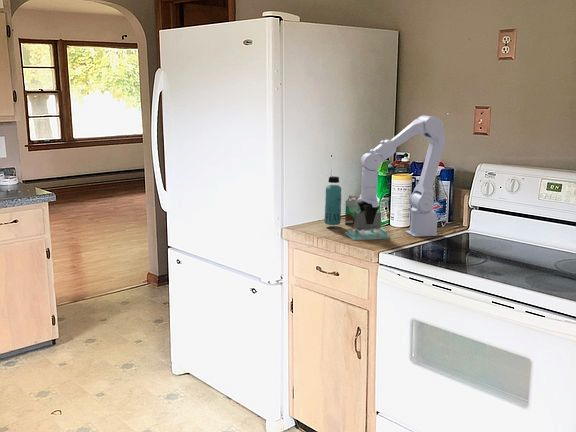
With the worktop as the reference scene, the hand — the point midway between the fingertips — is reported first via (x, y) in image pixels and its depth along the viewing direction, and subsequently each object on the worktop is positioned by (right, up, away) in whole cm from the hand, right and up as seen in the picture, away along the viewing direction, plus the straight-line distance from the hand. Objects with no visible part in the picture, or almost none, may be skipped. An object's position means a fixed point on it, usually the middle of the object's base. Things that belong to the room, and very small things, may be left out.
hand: (367, 222), depth 226 cm
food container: (-3, 0, +23) cm, 23 cm away
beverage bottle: (-12, -2, +14) cm, 19 cm away
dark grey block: (0, -2, 0) cm, 2 cm away
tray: (0, -5, +1) cm, 5 cm away
